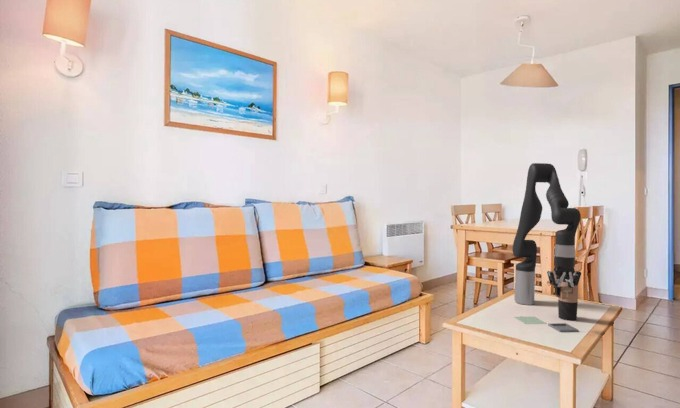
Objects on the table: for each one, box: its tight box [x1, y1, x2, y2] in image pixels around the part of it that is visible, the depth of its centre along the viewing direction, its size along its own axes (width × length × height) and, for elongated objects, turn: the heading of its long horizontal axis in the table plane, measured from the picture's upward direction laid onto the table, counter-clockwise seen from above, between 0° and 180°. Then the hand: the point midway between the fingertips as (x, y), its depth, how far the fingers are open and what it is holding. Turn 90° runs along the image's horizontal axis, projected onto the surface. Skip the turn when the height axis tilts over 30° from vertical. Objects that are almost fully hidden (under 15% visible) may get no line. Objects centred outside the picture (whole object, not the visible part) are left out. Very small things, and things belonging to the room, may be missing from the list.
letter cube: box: [554, 286, 573, 299], centre depth 161 cm, size 5×4×5 cm
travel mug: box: [557, 274, 579, 322], centre depth 175 cm, size 8×8×20 cm
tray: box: [547, 322, 579, 333], centre depth 161 cm, size 8×8×1 cm
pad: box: [513, 316, 548, 325], centre depth 172 cm, size 10×10×1 cm
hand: (563, 295), depth 161 cm, fingers closed on letter cube, 4 cm apart
